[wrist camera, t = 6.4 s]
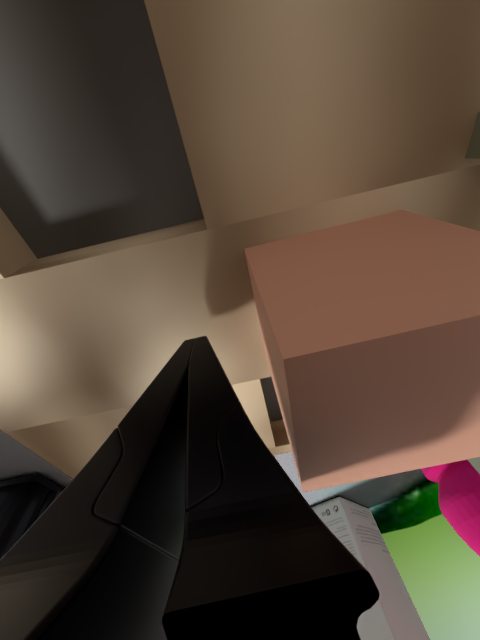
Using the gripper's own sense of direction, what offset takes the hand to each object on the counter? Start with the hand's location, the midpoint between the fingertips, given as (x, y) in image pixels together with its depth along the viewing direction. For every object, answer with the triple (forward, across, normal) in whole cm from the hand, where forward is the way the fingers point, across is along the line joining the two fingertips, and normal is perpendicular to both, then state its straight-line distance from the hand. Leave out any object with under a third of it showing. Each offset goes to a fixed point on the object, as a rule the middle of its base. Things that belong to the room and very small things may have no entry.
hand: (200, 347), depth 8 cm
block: (+1, -5, 0) cm, 5 cm away
